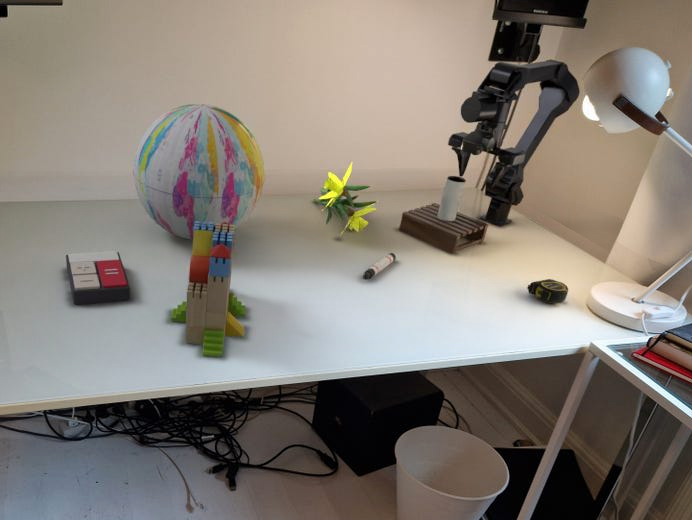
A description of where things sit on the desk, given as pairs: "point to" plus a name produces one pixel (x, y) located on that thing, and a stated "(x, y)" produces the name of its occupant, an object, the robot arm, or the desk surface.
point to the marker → (379, 266)
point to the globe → (198, 169)
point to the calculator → (97, 277)
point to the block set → (211, 290)
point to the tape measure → (549, 290)
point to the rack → (442, 228)
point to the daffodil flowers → (344, 200)
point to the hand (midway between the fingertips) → (476, 181)
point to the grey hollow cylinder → (451, 198)
